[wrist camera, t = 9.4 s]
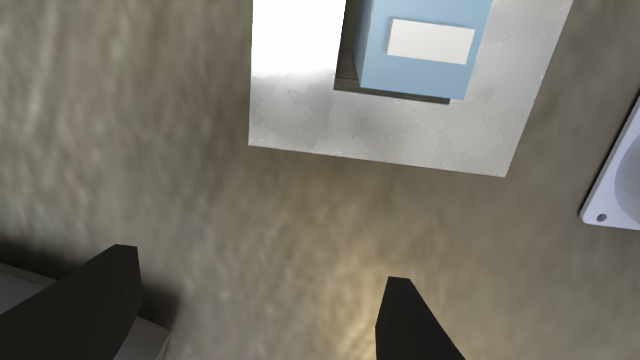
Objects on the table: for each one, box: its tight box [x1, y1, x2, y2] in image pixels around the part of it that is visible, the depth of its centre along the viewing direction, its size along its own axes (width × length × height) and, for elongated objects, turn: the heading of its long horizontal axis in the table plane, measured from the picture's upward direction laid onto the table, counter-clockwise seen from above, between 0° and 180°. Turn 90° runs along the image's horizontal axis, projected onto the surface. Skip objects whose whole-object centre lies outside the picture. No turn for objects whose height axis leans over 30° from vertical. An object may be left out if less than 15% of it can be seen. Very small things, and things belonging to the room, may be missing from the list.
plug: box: [353, 0, 493, 100], centre depth 14 cm, size 4×4×7 cm
